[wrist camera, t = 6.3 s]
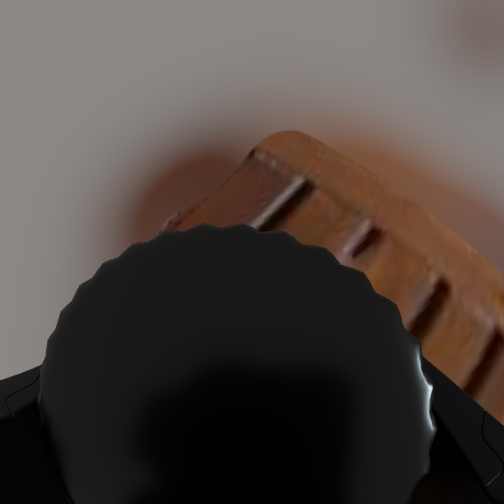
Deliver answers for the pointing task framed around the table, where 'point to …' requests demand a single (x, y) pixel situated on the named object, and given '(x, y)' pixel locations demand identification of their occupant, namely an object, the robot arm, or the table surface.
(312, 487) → the supplement bottle
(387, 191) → the table surface
